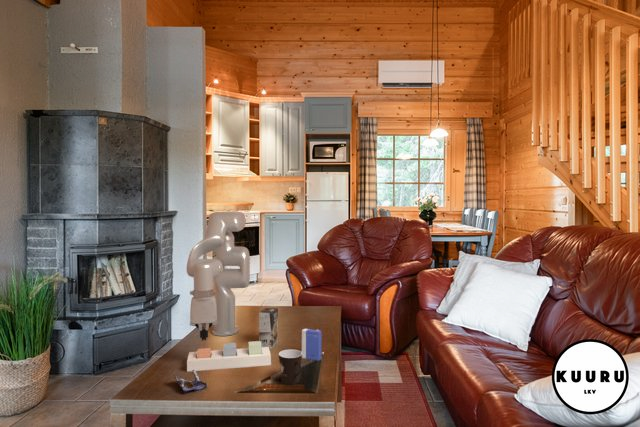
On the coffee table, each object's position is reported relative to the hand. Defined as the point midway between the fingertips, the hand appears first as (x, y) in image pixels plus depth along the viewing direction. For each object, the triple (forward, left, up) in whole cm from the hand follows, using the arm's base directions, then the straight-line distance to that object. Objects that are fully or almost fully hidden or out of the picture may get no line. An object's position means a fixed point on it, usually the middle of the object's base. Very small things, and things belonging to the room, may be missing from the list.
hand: (204, 339), depth 171 cm
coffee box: (+4, +32, -11) cm, 34 cm away
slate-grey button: (+7, +7, -8) cm, 13 cm away
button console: (+7, +7, -10) cm, 14 cm away
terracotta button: (0, 0, -9) cm, 9 cm away
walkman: (+29, +32, -11) cm, 45 cm away
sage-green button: (+13, +15, -8) cm, 21 cm away
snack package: (+12, -15, -11) cm, 22 cm away
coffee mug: (+38, +9, -11) cm, 40 cm away
